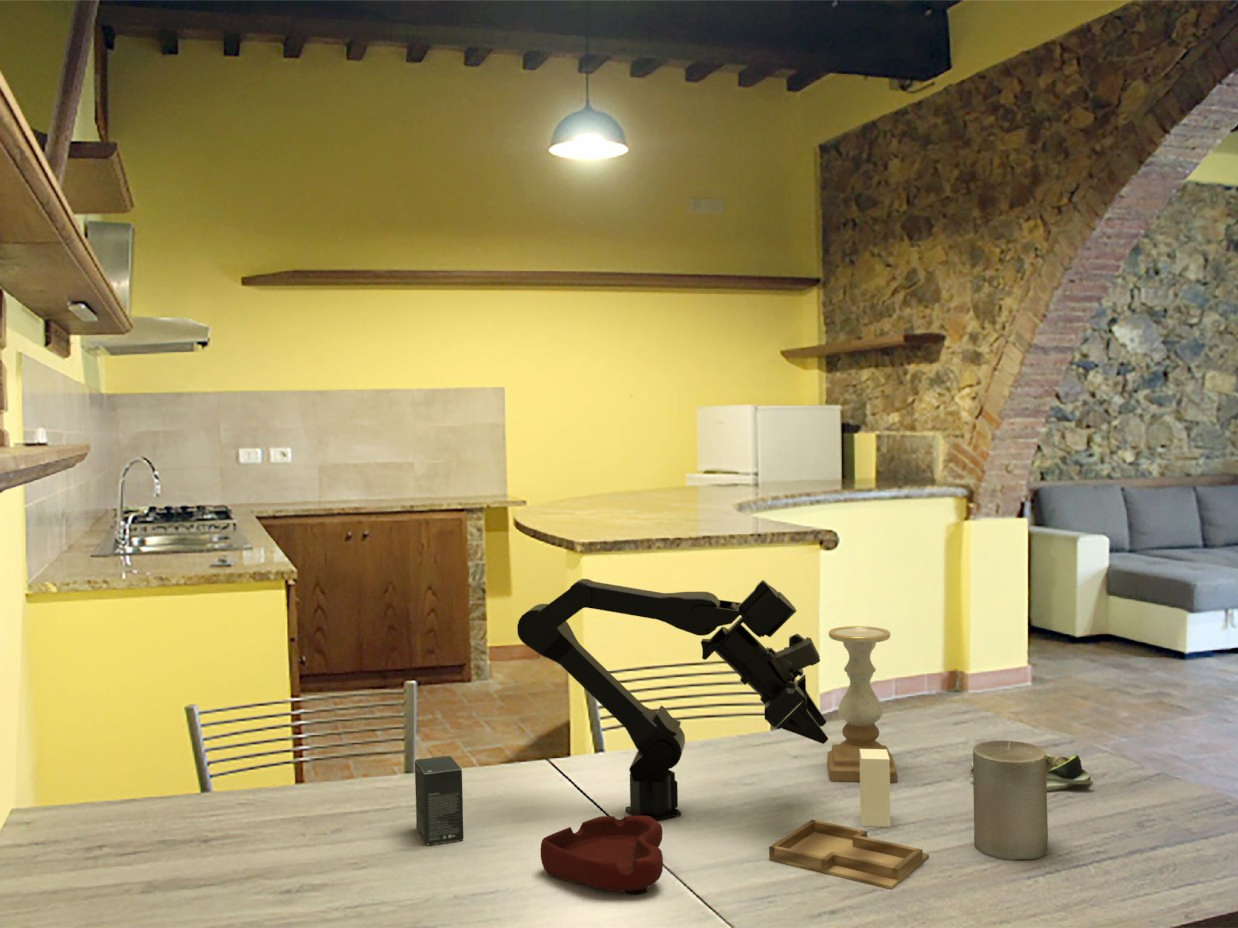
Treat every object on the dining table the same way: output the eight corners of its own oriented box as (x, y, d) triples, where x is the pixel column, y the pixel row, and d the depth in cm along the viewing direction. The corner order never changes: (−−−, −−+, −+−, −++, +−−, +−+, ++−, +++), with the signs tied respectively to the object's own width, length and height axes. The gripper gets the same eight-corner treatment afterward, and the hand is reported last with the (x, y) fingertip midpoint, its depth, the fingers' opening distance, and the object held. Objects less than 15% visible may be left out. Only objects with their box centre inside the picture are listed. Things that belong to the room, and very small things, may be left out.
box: (464, 840, 166) (462, 768, 165) (425, 846, 164) (423, 773, 164) (453, 823, 173) (451, 753, 173) (415, 828, 171) (413, 758, 171)
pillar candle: (994, 829, 166) (992, 726, 165) (1060, 846, 159) (1058, 739, 158) (960, 849, 159) (958, 742, 158) (1028, 867, 152) (1026, 755, 151)
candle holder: (826, 761, 200) (824, 625, 199) (891, 762, 198) (889, 625, 197) (829, 781, 189) (827, 637, 188) (897, 782, 187) (896, 637, 186)
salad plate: (994, 802, 178) (994, 772, 178) (944, 767, 196) (944, 741, 196) (1109, 793, 181) (1109, 764, 181) (1049, 760, 199) (1049, 733, 199)
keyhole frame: (769, 859, 156) (769, 846, 156) (811, 831, 166) (811, 819, 166) (891, 888, 146) (891, 874, 146) (929, 857, 156) (928, 843, 156)
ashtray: (547, 849, 162) (546, 814, 162) (662, 848, 162) (662, 813, 162) (534, 902, 145) (533, 863, 144) (663, 901, 144) (662, 862, 144)
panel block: (862, 825, 168) (861, 758, 168) (860, 814, 173) (859, 748, 173) (890, 826, 168) (889, 759, 167) (887, 814, 173) (886, 749, 172)
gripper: (786, 632, 162) (867, 711, 161) (787, 610, 180) (860, 680, 179) (731, 687, 163) (811, 765, 162) (737, 659, 182) (809, 729, 181)
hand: (825, 732), depth 171 cm, fingers open, 9 cm apart
